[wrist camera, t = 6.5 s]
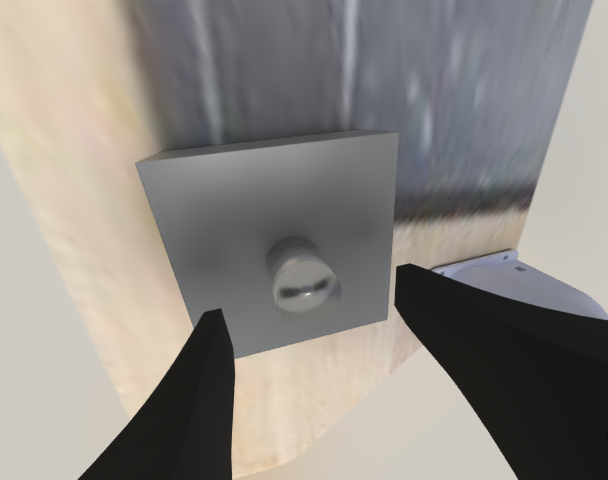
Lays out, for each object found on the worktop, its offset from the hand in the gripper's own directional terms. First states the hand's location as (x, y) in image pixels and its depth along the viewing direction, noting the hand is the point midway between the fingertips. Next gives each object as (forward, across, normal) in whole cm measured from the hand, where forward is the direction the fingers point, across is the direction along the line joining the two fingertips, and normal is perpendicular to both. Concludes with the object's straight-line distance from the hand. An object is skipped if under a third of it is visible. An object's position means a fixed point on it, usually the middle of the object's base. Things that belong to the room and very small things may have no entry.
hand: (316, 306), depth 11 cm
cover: (+9, 0, 0) cm, 9 cm away
